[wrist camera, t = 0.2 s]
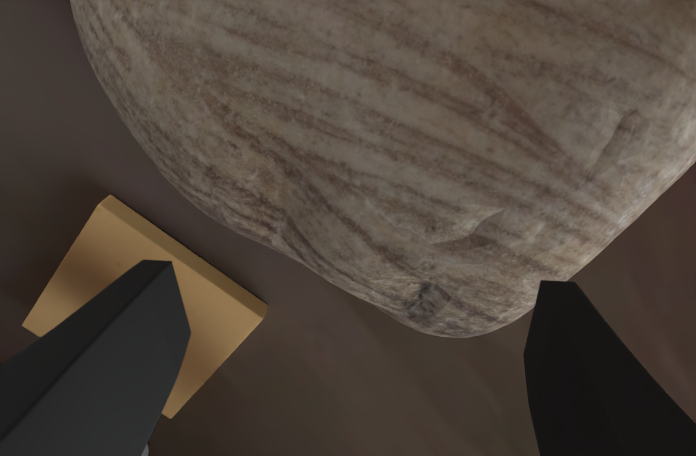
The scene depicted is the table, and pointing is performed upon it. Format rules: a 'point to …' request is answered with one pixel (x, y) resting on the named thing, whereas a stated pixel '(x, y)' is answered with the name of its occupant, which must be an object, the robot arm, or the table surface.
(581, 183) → the stone
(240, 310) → the peg stand
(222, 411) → the table surface
